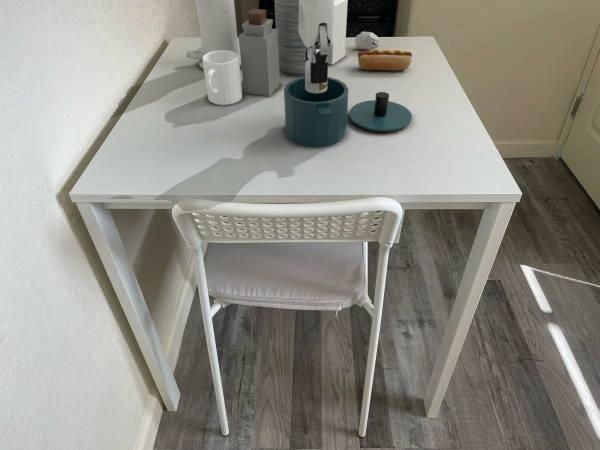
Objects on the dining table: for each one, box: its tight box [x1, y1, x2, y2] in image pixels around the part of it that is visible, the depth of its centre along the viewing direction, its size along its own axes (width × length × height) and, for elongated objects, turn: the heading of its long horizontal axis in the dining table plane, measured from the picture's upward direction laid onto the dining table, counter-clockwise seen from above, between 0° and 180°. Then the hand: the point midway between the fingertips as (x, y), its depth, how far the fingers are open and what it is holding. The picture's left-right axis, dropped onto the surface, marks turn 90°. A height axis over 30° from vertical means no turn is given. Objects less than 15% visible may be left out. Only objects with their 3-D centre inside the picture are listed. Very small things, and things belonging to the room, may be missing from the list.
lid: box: [348, 91, 413, 132], centre depth 99 cm, size 14×14×6 cm
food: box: [357, 49, 413, 71], centre depth 120 cm, size 14×6×5 cm, turn 87°
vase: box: [274, 0, 308, 77], centre depth 114 cm, size 12×12×23 cm
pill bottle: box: [305, 48, 328, 94], centre depth 88 cm, size 4×4×8 cm
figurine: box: [354, 31, 383, 51], centre depth 130 cm, size 4×8×5 cm, turn 67°
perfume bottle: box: [238, 8, 281, 97], centre depth 107 cm, size 7×7×18 cm
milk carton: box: [328, 0, 349, 65], centre depth 121 cm, size 7×7×19 cm
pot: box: [283, 75, 350, 148], centre depth 94 cm, size 13×18×10 cm
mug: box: [202, 50, 243, 106], centre depth 105 cm, size 8×12×10 cm
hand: (316, 76), depth 89 cm, fingers closed on pill bottle, 4 cm apart
